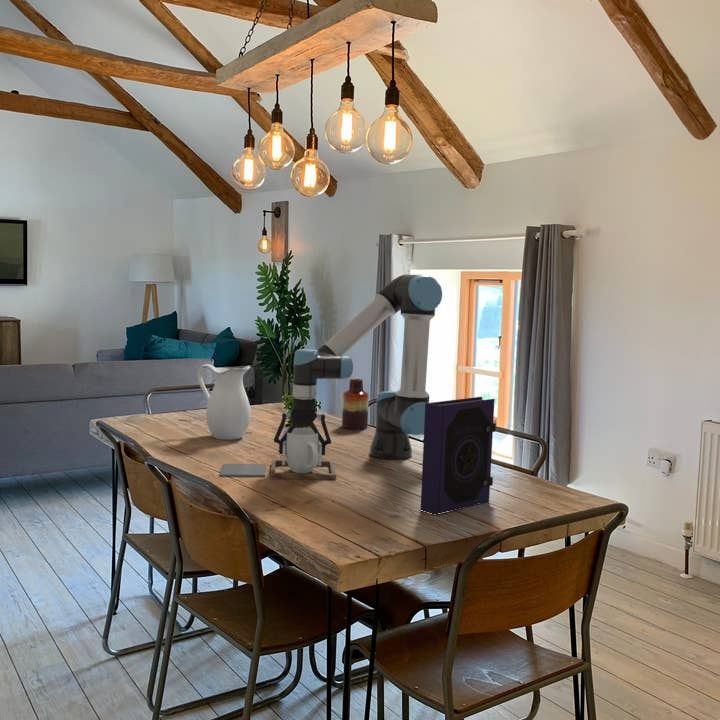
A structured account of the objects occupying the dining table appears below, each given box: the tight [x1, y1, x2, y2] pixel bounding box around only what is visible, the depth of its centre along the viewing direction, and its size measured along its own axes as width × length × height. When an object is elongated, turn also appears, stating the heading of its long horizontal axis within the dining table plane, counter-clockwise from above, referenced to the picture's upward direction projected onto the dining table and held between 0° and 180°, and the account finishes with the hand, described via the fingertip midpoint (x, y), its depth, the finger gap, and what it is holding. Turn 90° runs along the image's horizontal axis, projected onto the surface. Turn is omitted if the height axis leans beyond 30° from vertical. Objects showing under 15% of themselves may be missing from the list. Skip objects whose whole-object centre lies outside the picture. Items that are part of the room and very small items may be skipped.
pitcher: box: [196, 363, 251, 441], centre depth 299 cm, size 24×17×28 cm
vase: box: [341, 378, 370, 431], centre depth 326 cm, size 11×11×20 cm
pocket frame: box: [270, 459, 337, 480], centre depth 250 cm, size 20×18×2 cm
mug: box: [284, 427, 320, 473], centre depth 248 cm, size 15×11×13 cm
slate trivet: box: [219, 463, 267, 478], centre depth 248 cm, size 14×14×1 cm
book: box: [420, 396, 497, 514], centre depth 216 cm, size 24×6×30 cm, turn 132°
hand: (301, 464), depth 249 cm, fingers closed on mug, 11 cm apart
